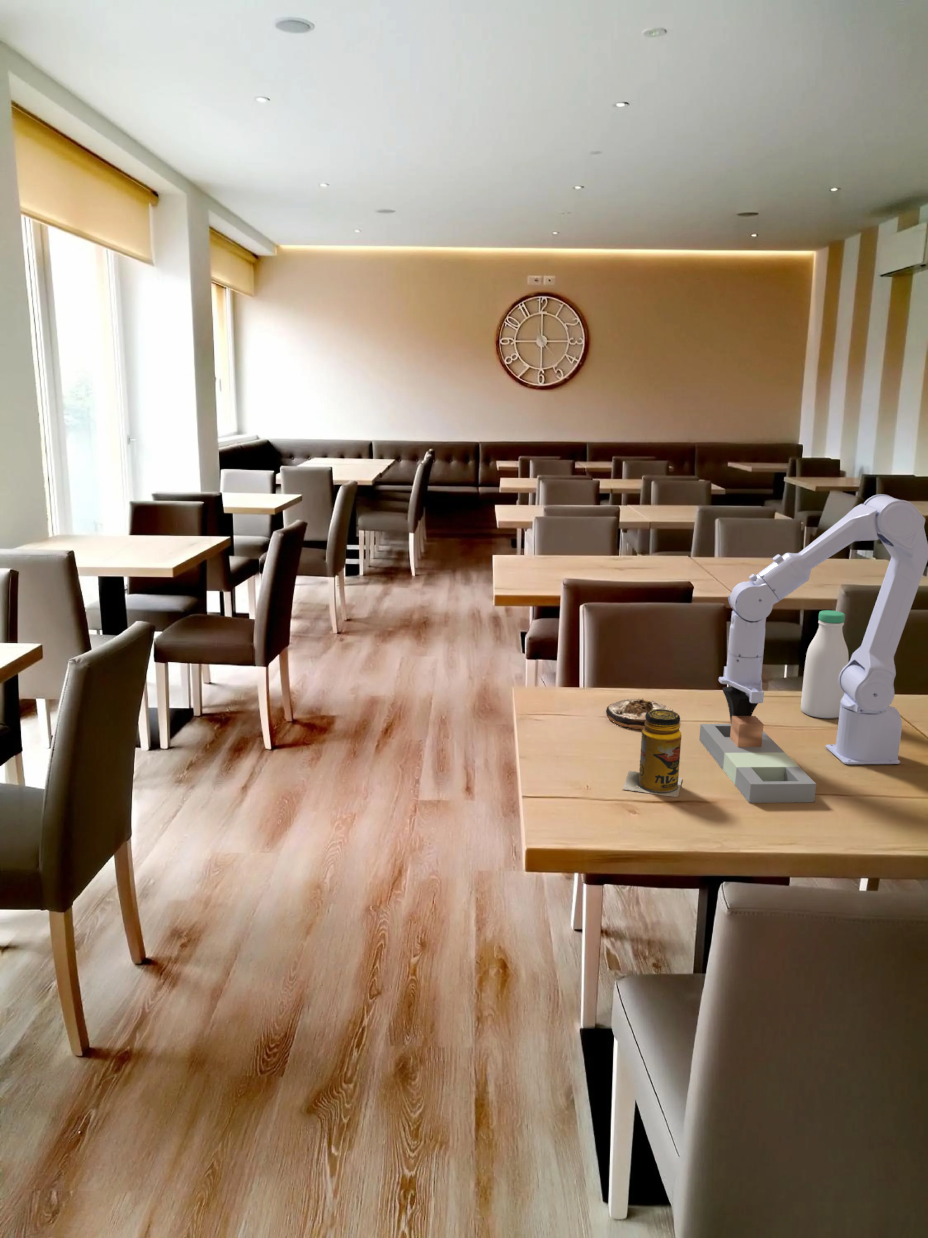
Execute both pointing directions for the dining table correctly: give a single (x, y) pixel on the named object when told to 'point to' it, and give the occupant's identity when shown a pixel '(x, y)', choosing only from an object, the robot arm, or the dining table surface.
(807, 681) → the milk bottle
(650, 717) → the condiment
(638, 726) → the plate of food
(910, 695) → the dining table surface
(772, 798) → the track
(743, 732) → the block
